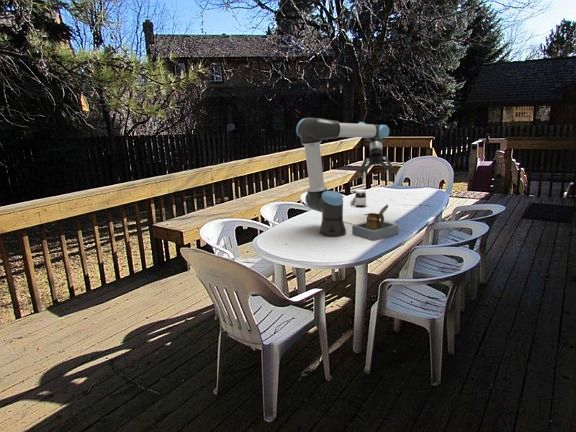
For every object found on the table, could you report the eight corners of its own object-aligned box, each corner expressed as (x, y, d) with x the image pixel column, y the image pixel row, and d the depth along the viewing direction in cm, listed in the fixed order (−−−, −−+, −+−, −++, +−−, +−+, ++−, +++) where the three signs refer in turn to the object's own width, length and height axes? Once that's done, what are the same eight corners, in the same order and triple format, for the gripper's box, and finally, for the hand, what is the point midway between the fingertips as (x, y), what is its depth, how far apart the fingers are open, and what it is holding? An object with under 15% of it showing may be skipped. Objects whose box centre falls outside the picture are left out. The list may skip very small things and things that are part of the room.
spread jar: (365, 207, 303) (366, 191, 300) (349, 207, 305) (349, 191, 302) (365, 204, 315) (366, 188, 312) (350, 203, 317) (350, 188, 314)
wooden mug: (383, 238, 233) (384, 205, 228) (361, 234, 241) (362, 202, 237) (390, 234, 239) (391, 202, 235) (369, 230, 248) (370, 200, 243)
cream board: (355, 225, 259) (355, 224, 259) (335, 219, 273) (335, 218, 273) (375, 220, 269) (375, 219, 269) (355, 215, 283) (355, 214, 283)
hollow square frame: (373, 240, 229) (373, 231, 228) (352, 234, 242) (352, 225, 240) (398, 233, 240) (398, 225, 239) (376, 227, 253) (377, 219, 252)
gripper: (397, 151, 260) (398, 183, 251) (356, 155, 267) (356, 186, 259) (396, 145, 253) (397, 177, 245) (354, 149, 261) (354, 180, 253)
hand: (376, 181), depth 252 cm, fingers open, 13 cm apart
